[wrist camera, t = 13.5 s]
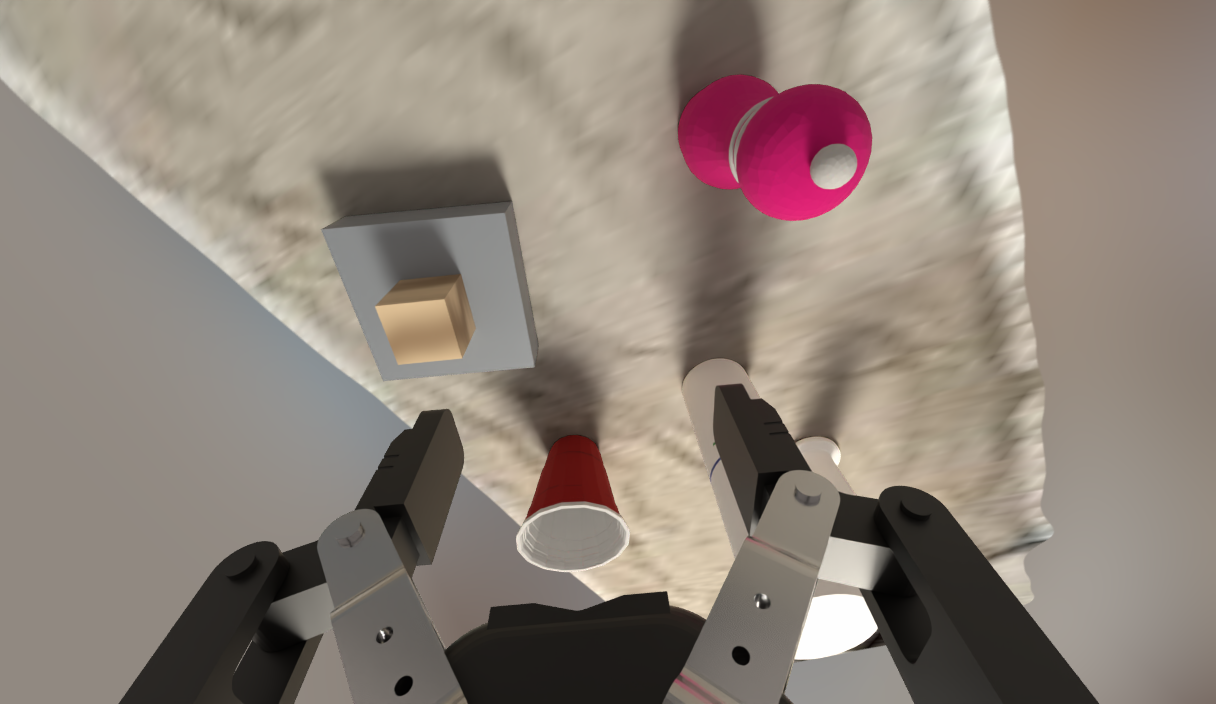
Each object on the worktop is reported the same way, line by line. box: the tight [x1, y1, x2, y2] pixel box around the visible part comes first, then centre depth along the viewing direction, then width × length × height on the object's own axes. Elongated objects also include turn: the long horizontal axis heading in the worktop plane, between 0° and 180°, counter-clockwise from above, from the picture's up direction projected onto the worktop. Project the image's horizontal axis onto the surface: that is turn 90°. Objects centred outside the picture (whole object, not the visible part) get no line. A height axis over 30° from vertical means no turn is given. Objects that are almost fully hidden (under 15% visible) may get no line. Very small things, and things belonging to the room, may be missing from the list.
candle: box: [796, 437, 857, 496], centre depth 43 cm, size 7×7×25 cm
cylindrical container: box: [682, 358, 878, 659], centre depth 37 cm, size 7×7×25 cm
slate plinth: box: [321, 201, 539, 381], centre depth 39 cm, size 14×14×4 cm
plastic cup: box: [516, 435, 630, 572], centre depth 47 cm, size 11×11×12 cm
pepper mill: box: [678, 74, 872, 221], centre depth 27 cm, size 7×7×20 cm
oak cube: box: [375, 274, 476, 365], centre depth 35 cm, size 5×5×5 cm
